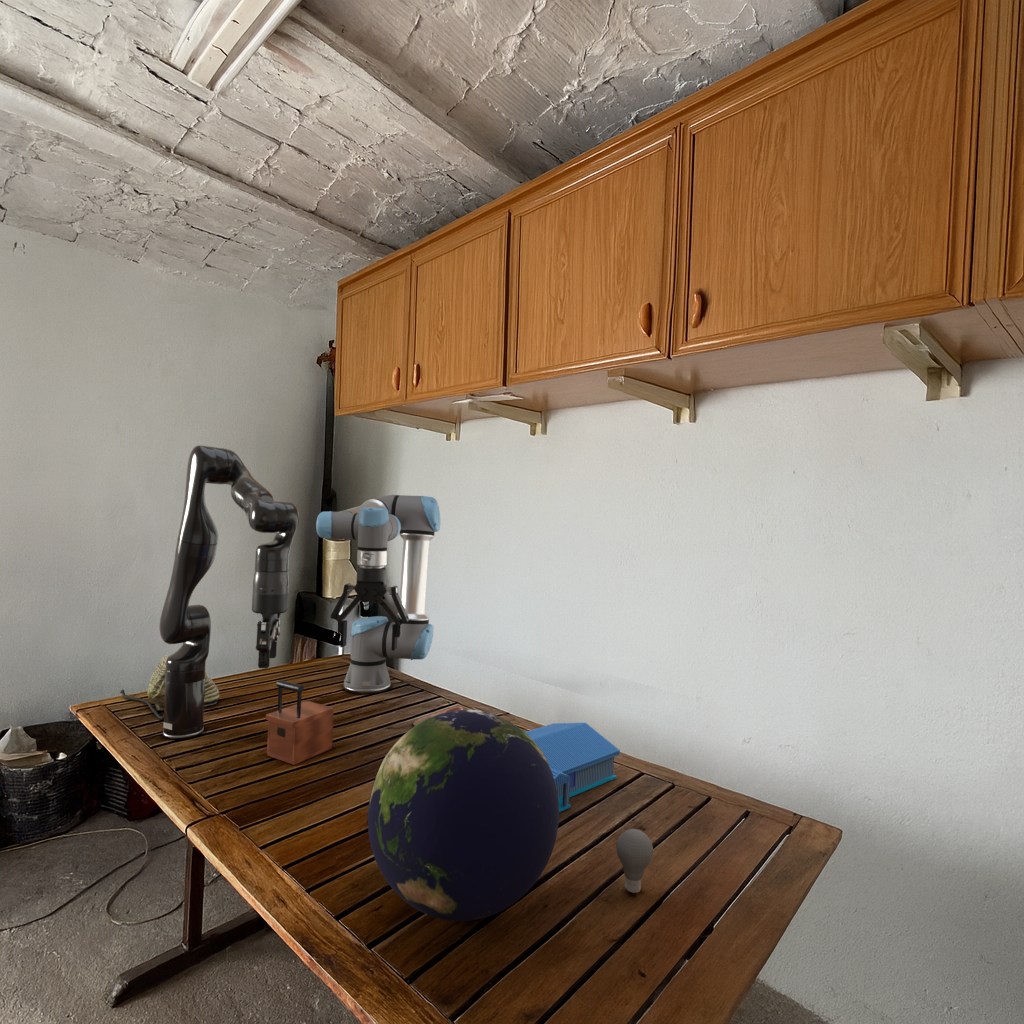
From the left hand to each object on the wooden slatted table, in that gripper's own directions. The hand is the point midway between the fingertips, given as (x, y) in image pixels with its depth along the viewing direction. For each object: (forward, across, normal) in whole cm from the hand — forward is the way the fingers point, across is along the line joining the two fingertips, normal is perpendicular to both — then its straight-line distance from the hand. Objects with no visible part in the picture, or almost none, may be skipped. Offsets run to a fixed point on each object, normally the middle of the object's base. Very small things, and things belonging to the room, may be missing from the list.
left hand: (267, 662), depth 142 cm
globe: (+25, -50, -39) cm, 68 cm away
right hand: (+1, +20, -22) cm, 29 cm away
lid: (+17, +13, -6) cm, 22 cm away
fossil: (+26, +50, +31) cm, 64 cm away
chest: (+26, +13, -6) cm, 30 cm away
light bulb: (+25, -50, -68) cm, 88 cm away
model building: (+25, -11, -59) cm, 65 cm away
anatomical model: (+25, +30, -42) cm, 57 cm away
